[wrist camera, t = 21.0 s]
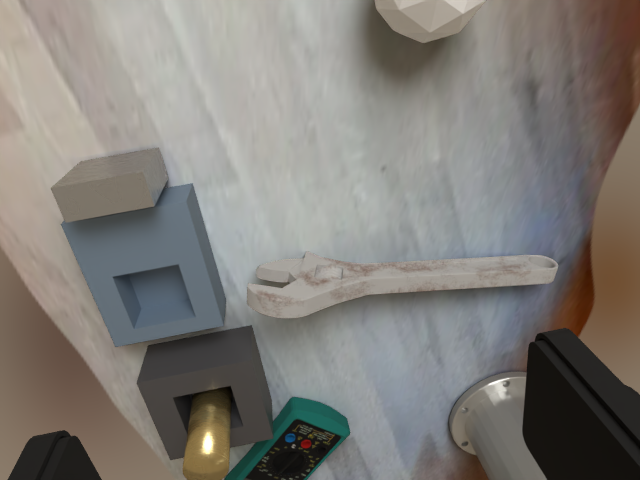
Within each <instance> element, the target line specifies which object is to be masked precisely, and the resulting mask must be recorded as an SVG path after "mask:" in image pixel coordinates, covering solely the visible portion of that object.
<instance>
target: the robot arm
mask: <svg viewBox="0 0 640 480" xmlns="http://www.w3.org/2000/svg"><path fill="white" fill-rule="evenodd" d="M449 427H450V432H451V434H452V436H453V439H454V441H455V442H456V444H457V445H458V446H459V447H460V448H461V449H462V450H464V451H466V452H468V453H470V454H474V455H477V457H478V459H479V461H480V463H481V465H482V467H483V469H484V471H485V473H486V475H487V477H488V479H489V480H640V395H639V394H638V393H637V392H636V391H635V390H633V389H632V388H631V387H628V386H626V385H624V384H623V383H622V382H621V381H620V380H619V379H618V378H617V377H616V376H615V375H614V374H613V373H612V372H611V371H610V370H609V369H608V368H607V367H606V366H605V365H604V364H603V363H602V362H601V361H600V360H599V359H598V358H597V357H596V356H595V355H594V353H593V352H592V351H591V350H590V349H589V348H588V347H587V346H586V345H585V344H584V343H583V342H582V341H581V340H580V339H579V338H578V337H577V336H576V335H575V334H574V333H573V332H572V331H570V330H569V329H566V328H563V329H558V330H553V331H548V332H543V333H539V334H537V336H536V338H535V342H531V343H530V344H529V349H528V361H527V373H526V372H507V373H501V374H497V375H494V376H491V377H488V378H486V379H484V380H482V381H480V382H478V383H477V384H475V385H474V386H472V387H471V388H470V389H469V390H467V391H466V392H465V393H464V394H463V395H462V396H461V397H460V399H459V400H458V401H457V402H456V404H455V406H454V407H453V409H452V412H451V415H450V420H449ZM8 480H102V479H101V478H100V476H99V474H98V472H97V471H96V469H95V467H94V465H93V463H92V462H91V460H90V458H89V456H88V454H87V453H86V451H85V449H84V447H83V445H82V444H81V442H80V440H79V439H78V437H76V436H70V434H69V433H68V432H67V431H65V430H63V431H57V432H53V433H48V434H43V435H38V436H33V437H32V438H31V439H30V440H29V441H28V442H27V444H26V445H25V448H24V449H23V451H22V453H21V455H20V457H19V459H18V461H17V463H16V465H15V467H14V469H13V471H12V473H11V474H10V476H9V478H8Z"/></svg>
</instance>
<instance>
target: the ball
mask: <svg viewBox="0 0 640 480" xmlns="http://www.w3.org/2000/svg"><path fill="white" fill-rule="evenodd" d="M485 1H486V0H375V5H376V9H377V11H378V12H379V13H380V14H381V16H382V17H383V18H384V20H385V21H386V22H387V23H388V25H389V26H390V27H391V28H392V30H394V31H396V32H398V33H399V34H402V35H404V36H407V37H409V38H411V39H414V40H416V41H419V42H421V43H426V42H429V41H433V40H436V39H440V38H443V37H447V36H450V35H453V34H457V33H459V32H460V31H461V30H462V29H463V28H464V26H465V25H466V24H467V23H468V22H469V21H470V19H471V18H472V17H473V16H474V15H475V13H476V12H477V11H478V10H479V9H480V7H481V6H482V5H483V4H484V3H485Z"/></svg>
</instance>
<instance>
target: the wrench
mask: <svg viewBox="0 0 640 480" xmlns="http://www.w3.org/2000/svg"><path fill="white" fill-rule="evenodd" d="M557 269H558V264H557V263H556V262H555V261H554V260H552V259H550V258H548V257H546V256H542V255H516V256H500V257H483V258H464V259H444V260H426V261H409V262H390V263H365V264H360V263H351V262H343V261H338V260H333V259H328V258H323V257H319V256H317V255H315V254H313V253H310V252H307V251H306V254H305V257H304V258H299V259H283V260H278V261H273V262H269V263H265V264H262V265H260V266H259V267H258V268H257V269H256V276H257V277H258V278H259V279H263V280H267V281H274V282H289V283H290V284H288V285H287V286H285V287H283V288H277V287H271V286H264V285H257V284H251V283H248V287H247V304H248V305H249V306H250V307H251V308H252V309H253V310H255V311H257V312H259V313H261V314H263V315H268V316H272V317H276V318H299V317H304V316H307V315H310V314H312V313H314V312H317V311H319V310H322V309H324V308H327V307H330V306H332V305H335V304H337V303H341V302H344V301H348V300H351V299H355V298H359V297H362V296H366V295H371V294H387V293H404V292H420V291H436V290H452V289H468V288H484V287H500V286H516V285H533V284H547V283H551V282H553V280H554V277H555V275H556V272H557Z"/></svg>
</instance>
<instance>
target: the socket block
mask: <svg viewBox="0 0 640 480" xmlns="http://www.w3.org/2000/svg"><path fill="white" fill-rule="evenodd" d="M61 226H62V228H63V230H64V232H65V235H66V237H67V239H68V241H69V244H70V246H71V248H72V250H73V252H74V255H75V257H76V259H77V261H78V264H79V266H80V268H81V270H82V273H83V275H84V277H85V279H86V282H87V284H88V286H89V288H90V291H91V293H92V295H93V297H94V300H95V302H96V304H97V306H98V309H99V311H100V313H101V315H102V318H103V320H104V322H105V324H106V327H107V329H108V331H109V333H110V336H111V338H112V340H113V342H114V345H115V347H118V346H124V345H129V344H134V343H139V342H144V341H149V340H154V339H159V338H164V337H169V336H174V335H180V334H185V333H190V332H195V331H200V330H205V329H210V328H215V327H220V326H224V317H225V306H226V298H225V294H224V291H223V287H222V284H221V281H220V277H219V274H218V270H217V267H216V263H215V260H214V256H213V253H212V249H211V246H210V242H209V239H208V235H207V232H206V228H205V225H204V221H203V218H202V215H201V211H200V208H199V204H198V201H197V197H196V194H195V190H194V187H193V183H192V184H187V185H181V186H175V187H170V188H164V189H163V190H162V192H161V194H160V196H159V198H158V200H157V202H156V204H155V206H154V207H149V208H143V209H138V210H132V211H127V212H121V213H116V214H110V215H105V216H99V217H94V218H88V219H83V220H77V221H72V222H65V220H64V222H63V223H62V224H61Z"/></svg>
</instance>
